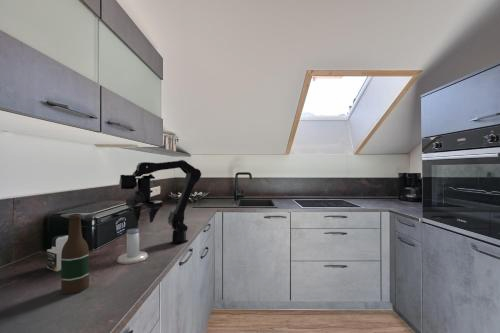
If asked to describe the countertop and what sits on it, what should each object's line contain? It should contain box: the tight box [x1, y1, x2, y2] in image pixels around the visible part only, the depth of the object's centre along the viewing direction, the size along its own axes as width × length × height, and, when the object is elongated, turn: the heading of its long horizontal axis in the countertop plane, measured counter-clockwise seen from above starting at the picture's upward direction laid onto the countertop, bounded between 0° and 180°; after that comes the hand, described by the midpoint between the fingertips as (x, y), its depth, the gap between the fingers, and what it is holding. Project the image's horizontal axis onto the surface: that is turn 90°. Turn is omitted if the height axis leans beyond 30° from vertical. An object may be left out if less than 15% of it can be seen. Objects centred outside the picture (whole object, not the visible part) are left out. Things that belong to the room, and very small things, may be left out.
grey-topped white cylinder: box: [126, 227, 140, 258], centre depth 106 cm, size 5×5×11 cm
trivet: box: [116, 250, 149, 265], centre depth 106 cm, size 12×12×1 cm
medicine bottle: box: [46, 234, 68, 272], centre depth 98 cm, size 7×7×12 cm
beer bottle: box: [60, 213, 90, 296], centre depth 80 cm, size 8×8×24 cm
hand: (144, 221), depth 118 cm, fingers open, 9 cm apart
